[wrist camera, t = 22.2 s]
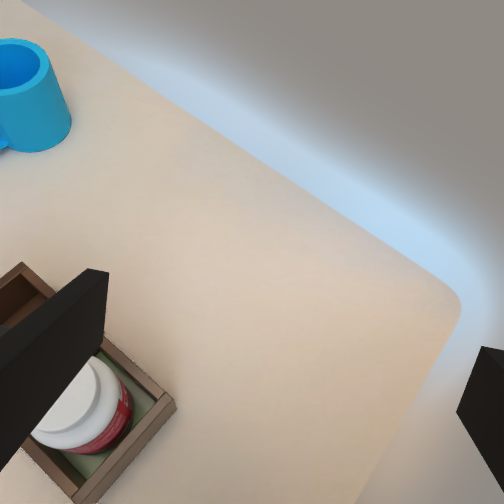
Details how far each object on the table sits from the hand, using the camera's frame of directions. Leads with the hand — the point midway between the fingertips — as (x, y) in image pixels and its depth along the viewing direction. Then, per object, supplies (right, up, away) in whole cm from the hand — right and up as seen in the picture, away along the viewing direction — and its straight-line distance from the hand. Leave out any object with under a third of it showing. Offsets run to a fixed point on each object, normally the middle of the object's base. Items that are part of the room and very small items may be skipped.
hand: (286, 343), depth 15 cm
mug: (-27, +16, +35) cm, 47 cm away
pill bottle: (-14, -10, +21) cm, 28 cm away
